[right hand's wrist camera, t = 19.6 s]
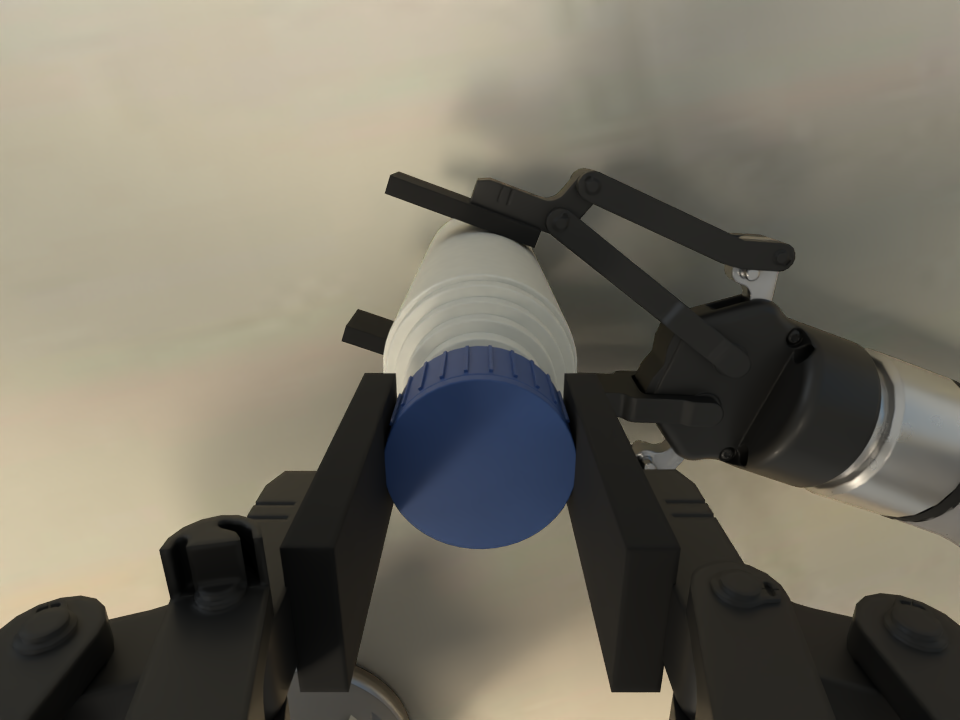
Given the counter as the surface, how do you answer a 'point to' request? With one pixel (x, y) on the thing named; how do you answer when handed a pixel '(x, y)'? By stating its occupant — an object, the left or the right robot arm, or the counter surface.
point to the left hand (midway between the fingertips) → (371, 256)
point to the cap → (480, 449)
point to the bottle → (479, 306)
